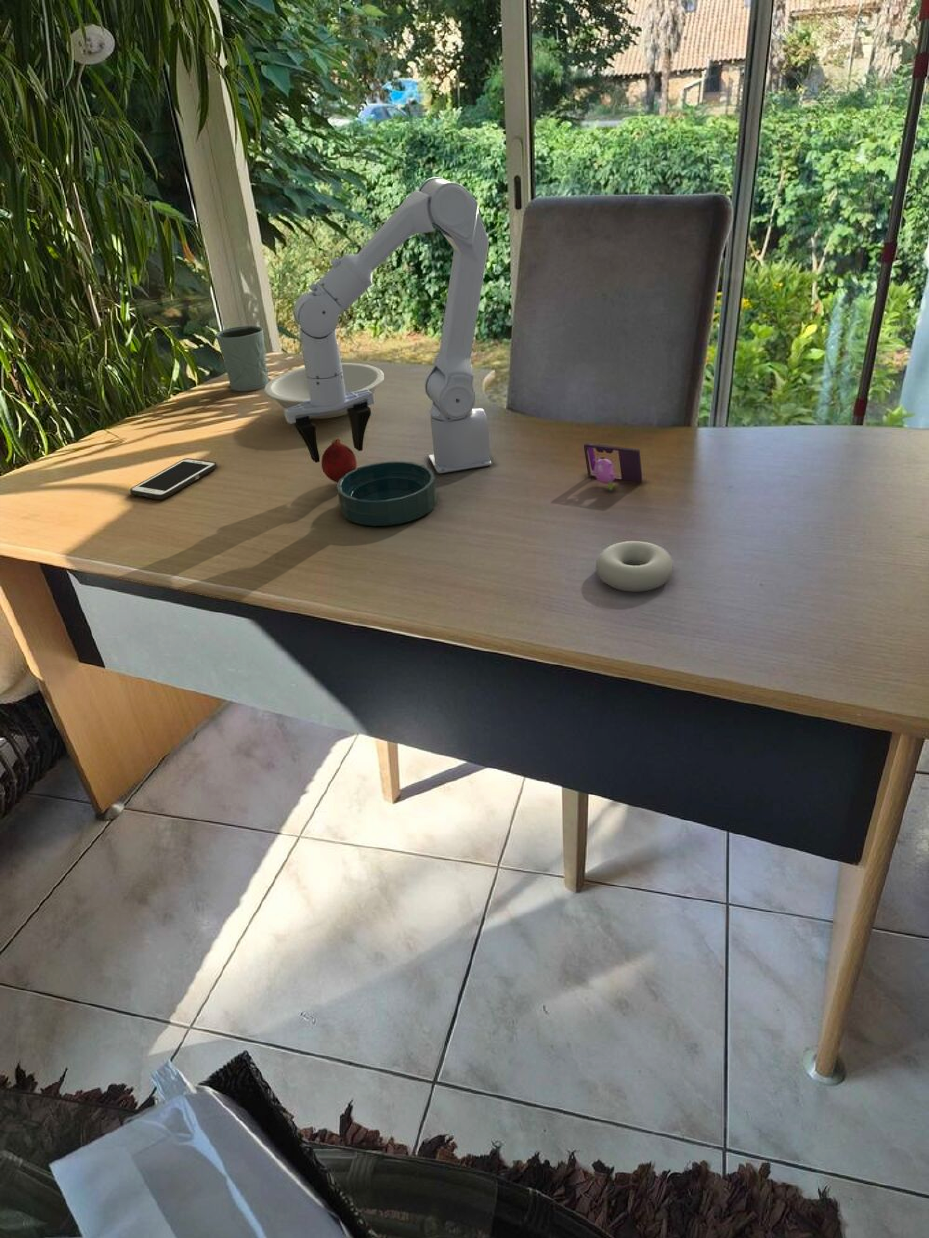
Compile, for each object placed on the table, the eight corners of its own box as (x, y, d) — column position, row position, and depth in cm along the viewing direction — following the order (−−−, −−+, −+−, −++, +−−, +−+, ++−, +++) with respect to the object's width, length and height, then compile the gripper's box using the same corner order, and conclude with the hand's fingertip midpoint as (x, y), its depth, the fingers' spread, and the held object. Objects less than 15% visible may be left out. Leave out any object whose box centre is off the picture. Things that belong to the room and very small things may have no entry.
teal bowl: (426, 480, 146) (423, 455, 143) (446, 518, 133) (443, 491, 131) (336, 495, 143) (331, 470, 141) (348, 535, 131) (343, 508, 128)
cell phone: (129, 495, 149) (127, 489, 149) (187, 462, 160) (185, 457, 160) (162, 501, 146) (161, 495, 146) (219, 467, 157) (218, 462, 156)
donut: (660, 555, 119) (588, 562, 119) (662, 533, 117) (588, 539, 117) (682, 593, 111) (604, 600, 110) (684, 569, 109) (605, 576, 108)
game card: (641, 446, 134) (585, 440, 138) (630, 469, 131) (574, 462, 135) (643, 478, 139) (590, 471, 143) (634, 501, 136) (579, 493, 140)
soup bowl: (382, 429, 167) (378, 396, 164) (259, 438, 168) (252, 405, 165) (392, 389, 187) (388, 359, 184) (282, 397, 189) (276, 366, 185)
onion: (353, 491, 144) (346, 445, 140) (320, 490, 145) (312, 445, 141) (363, 477, 149) (357, 432, 144) (331, 476, 150) (324, 432, 146)
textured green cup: (221, 392, 194) (208, 338, 188) (238, 378, 203) (226, 325, 196) (263, 391, 193) (252, 337, 186) (279, 377, 201) (269, 324, 194)
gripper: (356, 358, 143) (367, 437, 150) (272, 377, 137) (287, 457, 144) (374, 368, 137) (384, 449, 145) (287, 388, 132) (302, 471, 139)
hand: (337, 454), depth 144 cm, fingers open, 7 cm apart
